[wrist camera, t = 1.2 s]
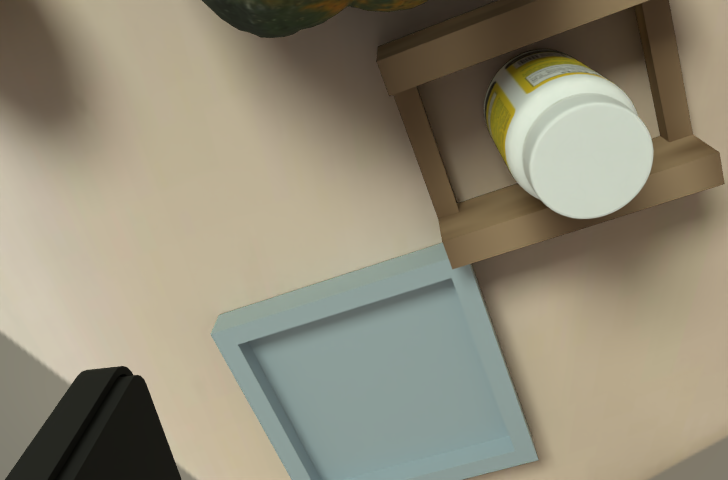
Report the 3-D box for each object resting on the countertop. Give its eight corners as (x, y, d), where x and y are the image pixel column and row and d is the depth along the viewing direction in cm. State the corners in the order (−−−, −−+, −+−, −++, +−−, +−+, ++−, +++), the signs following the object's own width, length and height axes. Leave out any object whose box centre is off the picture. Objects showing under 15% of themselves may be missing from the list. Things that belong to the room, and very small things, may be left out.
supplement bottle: (537, 175, 30) (587, 257, 23) (460, 111, 29) (485, 175, 22) (616, 94, 29) (698, 153, 21) (537, 23, 28) (594, 58, 20)
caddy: (648, -58, 26) (684, -56, 23) (688, 156, 30) (724, 183, 27) (377, 46, 28) (376, 61, 25) (445, 235, 32) (452, 269, 29)
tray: (461, 236, 32) (465, 253, 30) (531, 436, 37) (538, 460, 35) (219, 314, 34) (210, 334, 32) (315, 493, 39) (312, 517, 38)
